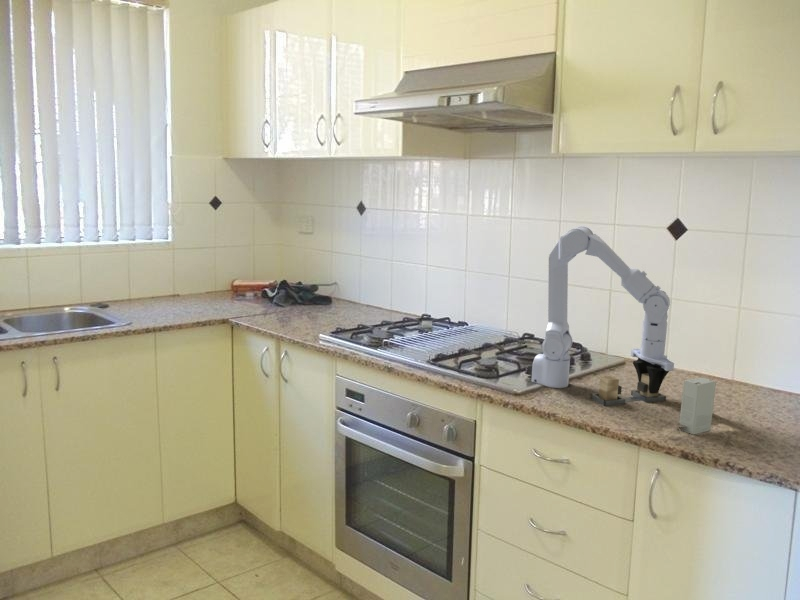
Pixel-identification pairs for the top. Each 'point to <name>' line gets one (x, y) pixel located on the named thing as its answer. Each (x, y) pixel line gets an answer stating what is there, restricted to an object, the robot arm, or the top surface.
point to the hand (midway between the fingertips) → (648, 390)
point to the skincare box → (697, 405)
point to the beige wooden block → (645, 386)
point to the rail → (628, 398)
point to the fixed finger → (609, 388)
